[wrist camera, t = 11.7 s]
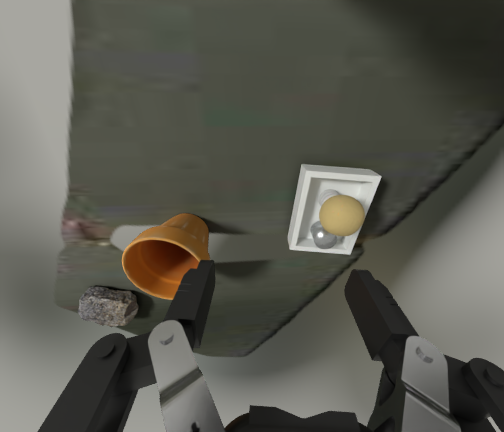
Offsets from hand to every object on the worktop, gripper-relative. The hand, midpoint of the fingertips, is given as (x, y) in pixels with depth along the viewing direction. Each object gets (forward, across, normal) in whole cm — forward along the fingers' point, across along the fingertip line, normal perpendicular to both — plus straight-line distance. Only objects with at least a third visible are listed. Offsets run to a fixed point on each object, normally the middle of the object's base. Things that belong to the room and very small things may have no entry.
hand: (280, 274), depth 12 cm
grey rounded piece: (+25, -12, +13) cm, 31 cm away
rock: (+28, +41, +43) cm, 65 cm away
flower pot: (+28, +16, +17) cm, 37 cm away
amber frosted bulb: (+26, -12, +6) cm, 29 cm away
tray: (+28, -12, +9) cm, 32 cm away
